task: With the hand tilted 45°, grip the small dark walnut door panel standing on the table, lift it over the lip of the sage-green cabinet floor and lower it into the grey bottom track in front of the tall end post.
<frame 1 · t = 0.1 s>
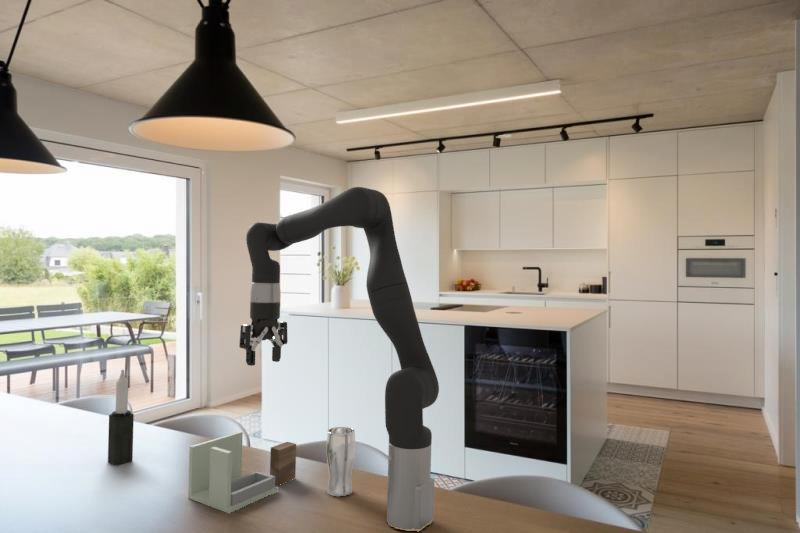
hand: (263, 363, 147), 29 cm above the table, tool pointing down, fingers open, 8 cm apart
cabinet track: (234, 494, 135), on the table
door panel: (282, 481, 144), on the table
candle: (120, 462, 155), on the table
beer glass: (339, 493, 138), on the table
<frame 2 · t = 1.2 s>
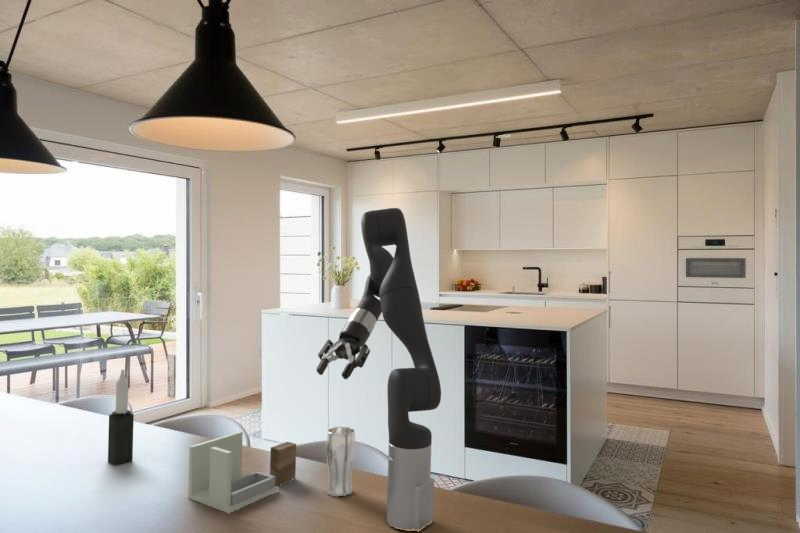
hand: (331, 375, 151), 26 cm above the table, tool tilted 45°, fingers open, 8 cm apart
nothing on the table moved.
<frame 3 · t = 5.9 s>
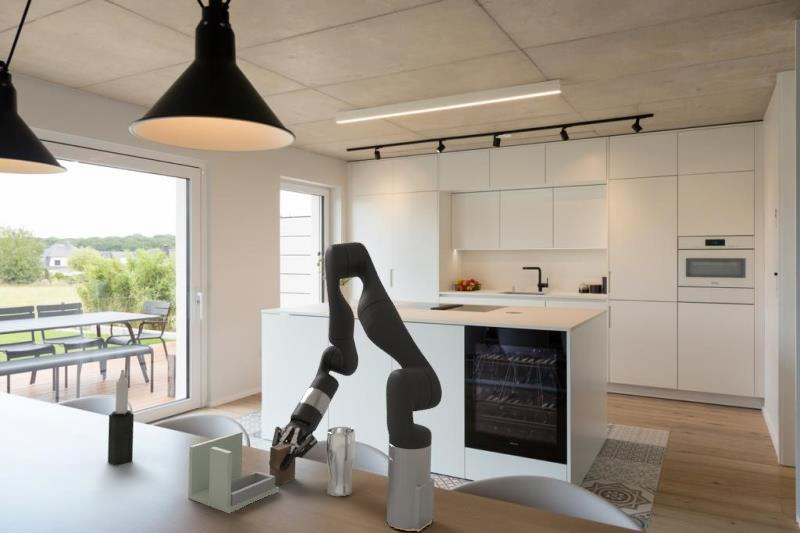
hand: (277, 467, 142), 4 cm above the table, tool tilted 45°, fingers closed on door panel, 3 cm apart
door panel: (282, 480, 144), on the table, touching gripper
everything else where it was.
when the fingers open (6 cm above the table, at t = 11.2 s): door panel stays where it is, resting on cabinet track.
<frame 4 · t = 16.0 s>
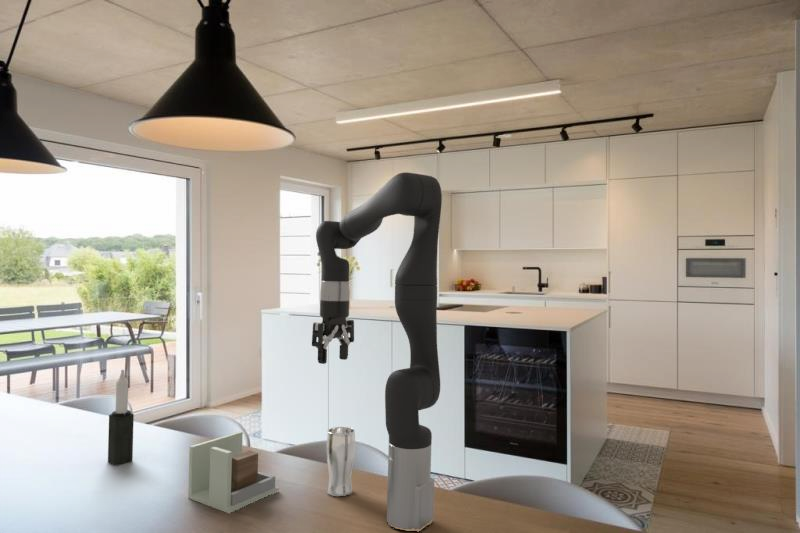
hand: (333, 361, 147), 30 cm above the table, tool pointing down, fingers open, 8 cm apart
door panel: (242, 493, 133), point 1 cm above the table, touching cabinet track
everything else where it was.
at the end: door panel inside the target area on the cabinet track (0.0 cm from its centre), point 1.0 cm above the cabinet track's base; door panel tilted 0°; the gripper is holding nothing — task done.
